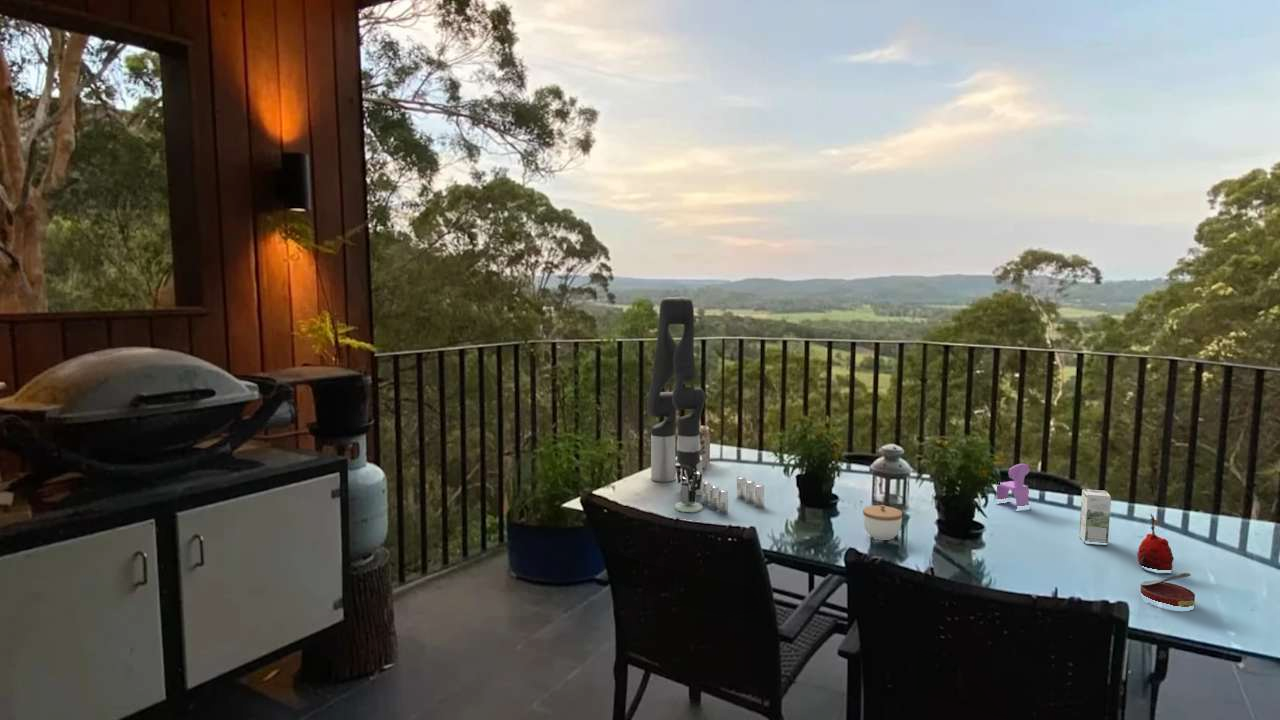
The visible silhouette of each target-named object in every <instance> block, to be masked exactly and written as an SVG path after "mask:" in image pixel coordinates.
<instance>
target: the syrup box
mask: <svg viewBox="0 0 1280 720" xmlns="http://www.w3.org/2000/svg"><path fill="white" fill-rule="evenodd" d="M1080 504H1081V505H1080V507H1081V508H1080V521H1079V534H1080V536H1081V537H1082V538H1083V539H1084V541H1089V542H1099V543H1108V544H1109V533H1110V532H1109V531H1110V518H1111V509H1112V508H1111V505H1112V497H1111V495H1110V494H1109V493H1108V492H1107V491H1106V490H1096V489H1087V488H1086V489H1085V488H1083V489H1082V491H1081V503H1080ZM1079 534H1078V535H1079Z"/></svg>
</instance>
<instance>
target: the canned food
mask: <svg viewBox="0 0 1280 720" xmlns="http://www.w3.org/2000/svg"><path fill="white" fill-rule="evenodd" d="M1191 575H1192V573H1188V572H1186V573H1185V572H1183V573H1180V574H1178V575H1177V574H1173V575H1170V576H1168V577H1167V578H1164V579H1162V578H1161V579H1153V580H1149V581H1148V580H1147V581H1143V582H1141V583H1140V592H1141V593H1142V594H1143V595H1144V596H1146V597H1148V598H1150V599H1152V600H1155V601H1158V602H1162V603H1166V604H1170V605H1173V606H1181V607H1189V606H1193V605H1194V606H1195V597H1196V594H1195V593H1194V592H1193V591H1192V590H1190V589H1189V588H1187V587H1184V586H1182V585H1179V584H1174V583H1173V582H1168V581H1173V580H1177V579H1178V580H1179V579H1182V578H1187V577H1191Z"/></svg>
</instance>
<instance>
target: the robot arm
mask: <svg viewBox="0 0 1280 720" xmlns="http://www.w3.org/2000/svg"><path fill="white" fill-rule="evenodd" d="M658 316H659V317H658V331H657V339H656V346H655V351H654V352H655V353H654V357H653V365H652V366H653V367H652V375H651V376H652V377H651V382H650V385H649V386H650V387H649V390H648V394H647V399H646V400H647V401H646V411H647V414H648V415H649V417H653V418H662V417H663V418H664V417H665V419H663V420H662V421H661V422H659V423H657V424H654V425H652V426H651V428H650V432H651V434H650V437H651V438H650V442H651V443H650V444H651V447H650V448H651V449H650V450H651V453H650V471H651V472H650V476H651V480H652V481H653V482H659V483H665V482H666V483H668V482H673V481H676V480H677V484H679V485H680V492H681V494H682V487H681V486H682V483H686V482H687V484H688V486H689V502H696V501H697V495H696V490H700V485H701V479H702V480H703V472H702V473H698V472H697V466H696V465H697V464H698V463H699V462H700V437H699V423H701V415H702V412H703V409H704V405H705V401H706V394H705V392H704V389H703V388H701V387H698V386H697V387H696V386H692V387H690V386H689V387H688V386H687V387H684V386H683V385H685V384H687V383H688V384H689V383H692V382H694V381H695V380H696V379H697V369H696V362H695V348H694V345H695V343H694V341H695V317H694V316H695V313H694V304H693V301H692V299H691V298H689V297H686V296H685V297H677V296H676V297H674V296H673V297H664V298H662V299H661V301H660V305H659V315H658ZM670 325H683V334H682V337H681V339H680V341H679V343H678V344H677V342H676V341H675V339H674V338H673V336H672V335H671V332H670V330H669V329H670V328H669V327H670ZM673 378H674V387H673V391H662V390H663V388H665V386H666V385H667V384H668V383H670V381H671V380H672V379H673ZM677 410H691V412H689V414H686V415H683V416H680V417H679V418H678V419H677ZM676 429H677V433H676ZM676 434H677V439H676ZM676 446H677V447H676ZM676 463H677V464H676ZM690 480H693V481H690ZM691 483H692V487H691Z"/></svg>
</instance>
